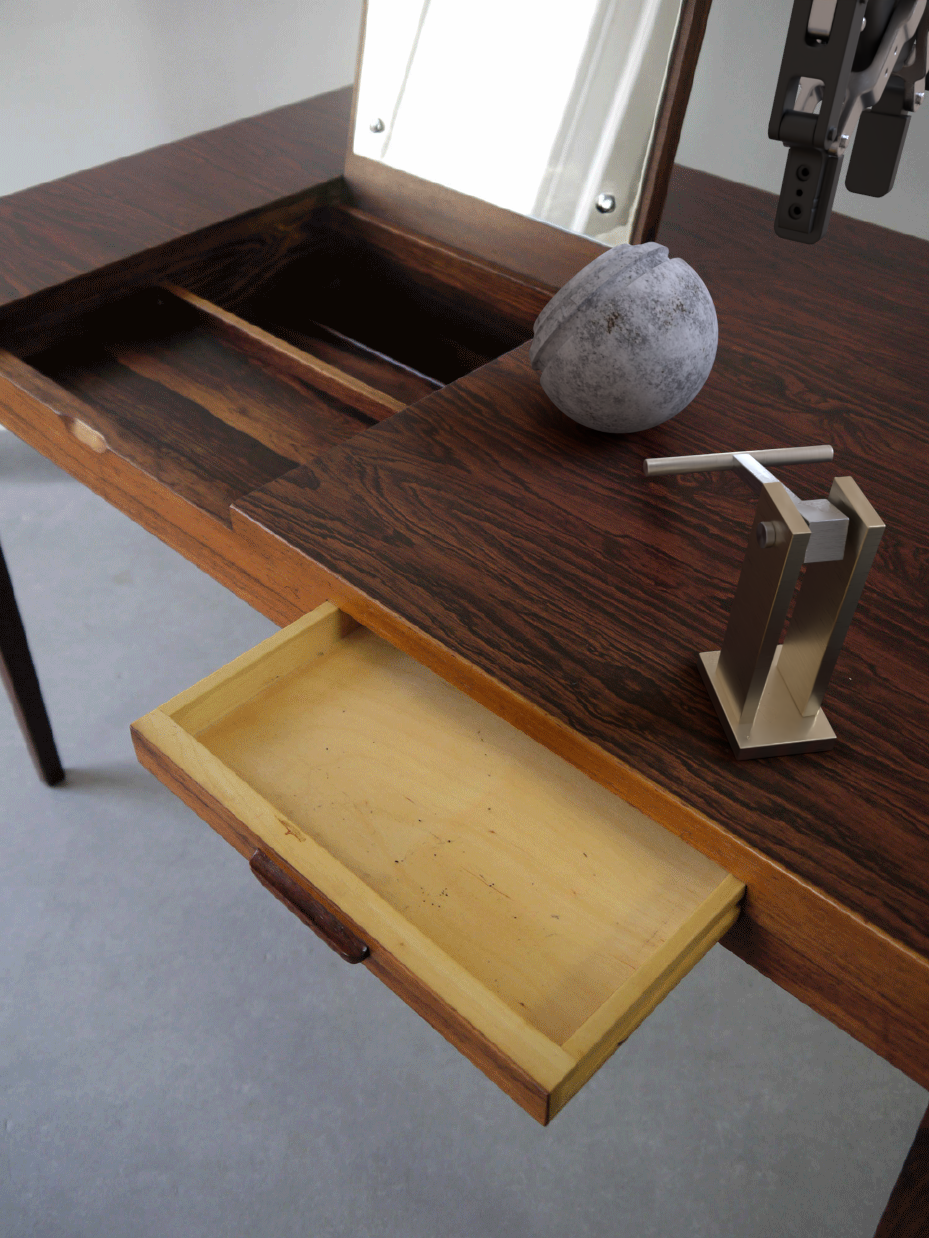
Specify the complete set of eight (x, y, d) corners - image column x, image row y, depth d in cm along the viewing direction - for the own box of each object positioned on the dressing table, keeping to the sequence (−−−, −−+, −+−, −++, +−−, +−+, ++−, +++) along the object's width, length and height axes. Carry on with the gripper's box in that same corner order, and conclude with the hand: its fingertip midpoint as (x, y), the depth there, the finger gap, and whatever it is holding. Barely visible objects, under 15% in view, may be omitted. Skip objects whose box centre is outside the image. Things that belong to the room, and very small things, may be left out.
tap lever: (641, 483, 66) (643, 446, 65) (823, 468, 67) (828, 432, 66) (714, 572, 55) (718, 529, 54) (930, 552, 56) (938, 510, 55)
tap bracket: (695, 665, 68) (742, 463, 57) (783, 656, 69) (846, 455, 58) (736, 761, 63) (797, 557, 52) (832, 750, 63) (912, 547, 52)
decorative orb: (599, 357, 97) (617, 193, 87) (734, 416, 90) (772, 246, 80) (492, 421, 89) (498, 250, 79) (632, 492, 82) (659, 314, 72)
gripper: (982, -223, 33) (856, 278, 44) (1085, -222, 42) (960, 194, 53) (762, -227, 37) (692, 238, 47) (900, -225, 46) (817, 166, 56)
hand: (834, 215), depth 50 cm, fingers open, 8 cm apart
